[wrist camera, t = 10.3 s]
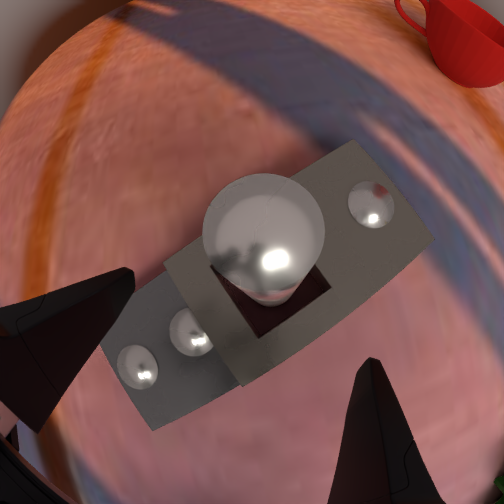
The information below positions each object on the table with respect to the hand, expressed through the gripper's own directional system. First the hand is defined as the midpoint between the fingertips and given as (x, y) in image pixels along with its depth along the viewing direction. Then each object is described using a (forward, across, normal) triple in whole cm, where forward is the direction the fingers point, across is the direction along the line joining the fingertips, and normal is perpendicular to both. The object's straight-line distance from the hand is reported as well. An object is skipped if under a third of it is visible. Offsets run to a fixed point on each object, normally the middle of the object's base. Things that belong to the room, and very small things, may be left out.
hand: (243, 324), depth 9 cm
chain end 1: (+10, -1, +3) cm, 11 cm away
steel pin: (+9, 0, +5) cm, 10 cm away
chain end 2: (+7, +3, +7) cm, 10 cm away
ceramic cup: (+32, -12, -18) cm, 39 cm away
